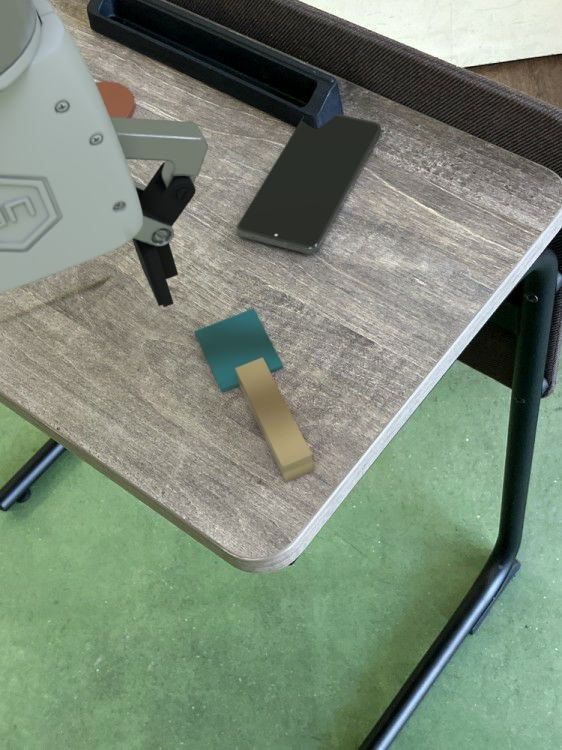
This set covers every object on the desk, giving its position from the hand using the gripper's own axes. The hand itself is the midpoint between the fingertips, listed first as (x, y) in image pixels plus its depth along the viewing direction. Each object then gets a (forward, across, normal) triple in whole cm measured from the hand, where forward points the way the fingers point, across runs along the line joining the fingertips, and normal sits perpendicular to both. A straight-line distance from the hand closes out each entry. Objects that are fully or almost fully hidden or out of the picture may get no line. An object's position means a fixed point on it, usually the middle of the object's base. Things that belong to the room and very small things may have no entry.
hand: (65, 321), depth 46 cm
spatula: (+23, +10, +7) cm, 26 cm away
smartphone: (+23, +22, +25) cm, 41 cm away
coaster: (+23, +8, +44) cm, 50 cm away
